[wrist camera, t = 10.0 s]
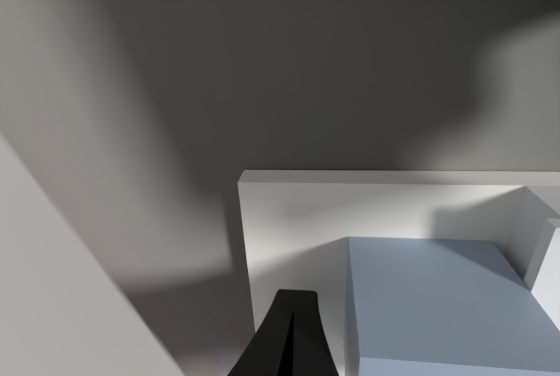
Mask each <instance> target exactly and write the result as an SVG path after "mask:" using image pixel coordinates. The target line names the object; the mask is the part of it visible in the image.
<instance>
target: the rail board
mask: <svg viewBox="0 0 560 376" xmlns="http://www.w3.org/2000/svg"><path fill="white" fill-rule="evenodd" d="M238 190H239V199H240V207H241V216H242V224H243V232H244V241H245V249H246V258H247V266H248V274H249V283H250V291H251V300H252V308H253V316H254V325H255V333H256V332H257V330H258V328H259V327H260V325H261V323H262V322H263V320H264V318H265V316H266V314H267V312H268V310H269V308H270V306H271V304H272V302H273V300H274V297H275V295H276V292H277V291H278V290H279V289H291V290H310V291H315V292H316V293H318V306H319V312H320V317H321V321H322V326H323V329H324V333H325V336H326V340H327V343H328V346H329V349H330V352H331V355H332V358H333V361H334V363H335V366H336V369H337V371H338V374H339V376H345V363H344V343H343V333H344V313H345V293H346V273H347V253H348V236H355V237H388V238H420V239H453V240H486V241H493V242H494V243H495V245H496V246H497V247H498V249H499V250H500V251H501V253H502V254H503V255H504V257H505V258H506V259H507V261H508V262H509V264H510V265H511V266H512V268H513V269H514V270H515V272H516V273H517V274H518V276H519V277H520V278H521V280H522V281H523V282H524V284H525V285H526V286H527V288H528V289H529V290H530V292H531V293H532V294H533V296H534V297H535V299H536V300H537V301H538V303H539V304H540V305H541V307H542V308H543V309H544V311H545V312H546V313H547V315H548V316H549V317H550V319H551V320H552V321H553V323H554V324H555V325H556V327H557V328H558V330H559V331H560V172H514V171H353V170H244V171H243V173H242V175H241V177H240V179H239V181H238Z"/></svg>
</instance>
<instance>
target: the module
mask: <svg viewBox="0 0 560 376" xmlns="http://www.w3.org/2000/svg"><path fill="white" fill-rule="evenodd" d="M343 343H344V363H345V376H560V331H559V330H558V328H557V327H556V325H555V324H554V323H553V321H552V320H551V319H550V317H549V316H548V315H547V313H546V312H545V311H544V309H543V308H542V307H541V305H540V304H539V303H538V301H537V300H536V299H535V297H534V296H533V294H532V293H531V292H530V290H529V289H528V288H527V286H526V285H525V284H524V282H523V281H522V280H521V278H520V277H519V276H518V274H517V273H516V272H515V270H514V269H513V268H512V266H511V265H510V264H509V262H508V261H507V259H506V258H505V257H504V255H503V254H502V253H501V251H500V250H499V249H498V247H497V246H496V245H495V243H494V242H493V241H486V240H453V239H420V238H388V237H355V236H348V253H347V273H346V293H345V313H344V333H343Z"/></svg>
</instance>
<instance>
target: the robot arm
mask: <svg viewBox="0 0 560 376" xmlns="http://www.w3.org/2000/svg"><path fill="white" fill-rule="evenodd" d="M227 376H339V374H338V371H337V369H336V366H335V363H334V361H333V358H332V355H331V352H330V349H329V346H328V343H327V340H326V336H325V333H324V329H323V326H322V321H321V317H320V312H319V306H318V293H316V292H315V291H310V290H291V289H279V290H278V291H277V292H276V295H275V297H274V300H273V302H272V304H271V306H270V308H269V310H268V312H267V314H266V316H265V318H264V320H263V322H262V323H261V325H260V327H259V328H258V330H257V332H256V334H255V335H254V337H253V339H252V340H251V342H250V343H249V345H248V346H247V348H246V349H245V351H244V352H243V354H242V355H241V357H240V358H239V360H238V361H237V363H236V364H235V366H234V367H233V369H232V370H231V371H230V373H229V374H228V375H227Z"/></svg>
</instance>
